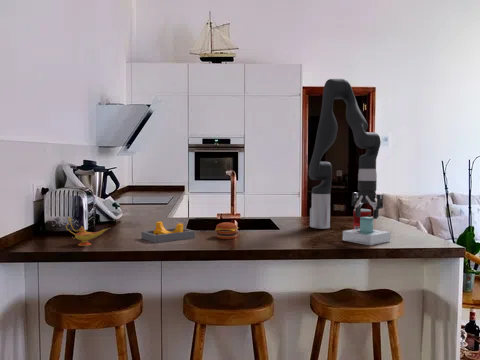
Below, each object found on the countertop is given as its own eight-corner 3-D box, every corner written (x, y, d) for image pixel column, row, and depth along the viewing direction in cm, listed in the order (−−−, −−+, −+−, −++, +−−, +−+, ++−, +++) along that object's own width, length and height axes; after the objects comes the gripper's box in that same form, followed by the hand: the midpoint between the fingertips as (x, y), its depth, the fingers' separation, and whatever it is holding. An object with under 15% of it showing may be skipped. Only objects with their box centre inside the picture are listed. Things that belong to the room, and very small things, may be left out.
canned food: (371, 234, 208) (371, 210, 208) (353, 233, 210) (353, 210, 209) (369, 231, 216) (370, 208, 215) (352, 231, 217) (353, 208, 217)
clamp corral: (141, 238, 194) (141, 231, 194) (180, 233, 207) (180, 227, 206) (155, 242, 185) (155, 235, 185) (194, 237, 197) (194, 230, 197)
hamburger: (218, 235, 205) (218, 220, 204) (239, 236, 203) (239, 221, 202) (213, 238, 195) (213, 223, 195) (235, 239, 194) (235, 224, 193)
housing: (342, 240, 193) (342, 231, 193) (362, 236, 202) (362, 227, 202) (370, 245, 182) (370, 235, 182) (390, 241, 191) (390, 232, 191)
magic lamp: (107, 246, 177) (107, 218, 176) (62, 246, 177) (62, 218, 177) (113, 243, 184) (113, 216, 183) (69, 242, 184) (69, 215, 184)
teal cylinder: (357, 240, 192) (357, 217, 192) (364, 239, 196) (365, 216, 195) (367, 242, 188) (368, 218, 188) (375, 241, 192) (375, 217, 191)
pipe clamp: (153, 237, 196) (153, 223, 195) (158, 235, 200) (158, 221, 199) (178, 240, 192) (178, 225, 191) (183, 238, 196) (183, 223, 195)
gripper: (348, 179, 194) (347, 216, 194) (376, 180, 183) (375, 220, 183) (358, 178, 198) (358, 215, 199) (387, 179, 187) (386, 218, 188)
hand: (366, 217), depth 191 cm, fingers open, 8 cm apart
